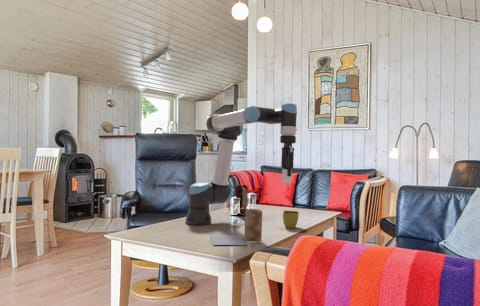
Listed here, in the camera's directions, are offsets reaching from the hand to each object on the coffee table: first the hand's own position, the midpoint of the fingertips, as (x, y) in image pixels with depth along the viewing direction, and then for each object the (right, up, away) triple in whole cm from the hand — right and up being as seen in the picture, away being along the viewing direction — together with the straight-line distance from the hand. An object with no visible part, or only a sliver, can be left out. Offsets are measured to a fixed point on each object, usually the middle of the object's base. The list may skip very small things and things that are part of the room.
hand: (286, 182), depth 188 cm
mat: (-29, -28, -4) cm, 40 cm away
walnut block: (-17, -28, -2) cm, 33 cm away
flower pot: (+6, -29, +33) cm, 44 cm away
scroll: (-22, -27, +70) cm, 78 cm away
